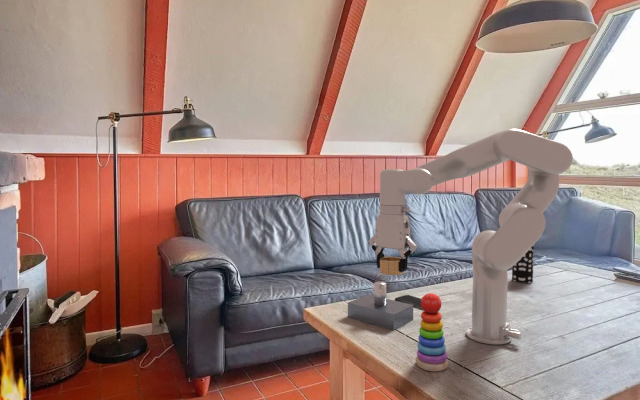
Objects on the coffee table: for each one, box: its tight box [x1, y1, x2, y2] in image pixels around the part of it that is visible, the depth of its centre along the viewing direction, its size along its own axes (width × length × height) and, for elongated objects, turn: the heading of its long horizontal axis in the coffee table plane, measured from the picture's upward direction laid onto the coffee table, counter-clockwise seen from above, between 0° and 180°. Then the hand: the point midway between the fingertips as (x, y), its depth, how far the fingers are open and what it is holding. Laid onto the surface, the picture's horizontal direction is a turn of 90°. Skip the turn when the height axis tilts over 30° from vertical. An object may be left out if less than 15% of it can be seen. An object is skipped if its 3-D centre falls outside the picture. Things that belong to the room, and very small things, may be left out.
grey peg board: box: [347, 281, 414, 331], centre depth 144 cm, size 18×12×12 cm, turn 48°
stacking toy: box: [415, 292, 449, 372], centre depth 110 cm, size 8×8×19 cm
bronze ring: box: [379, 256, 405, 276], centre depth 130 cm, size 7×7×4 cm
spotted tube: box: [511, 244, 535, 284], centre depth 189 cm, size 8×8×20 cm
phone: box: [394, 294, 424, 311], centre depth 160 cm, size 8×1×15 cm
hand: (391, 268), depth 130 cm, fingers closed on bronze ring, 7 cm apart
